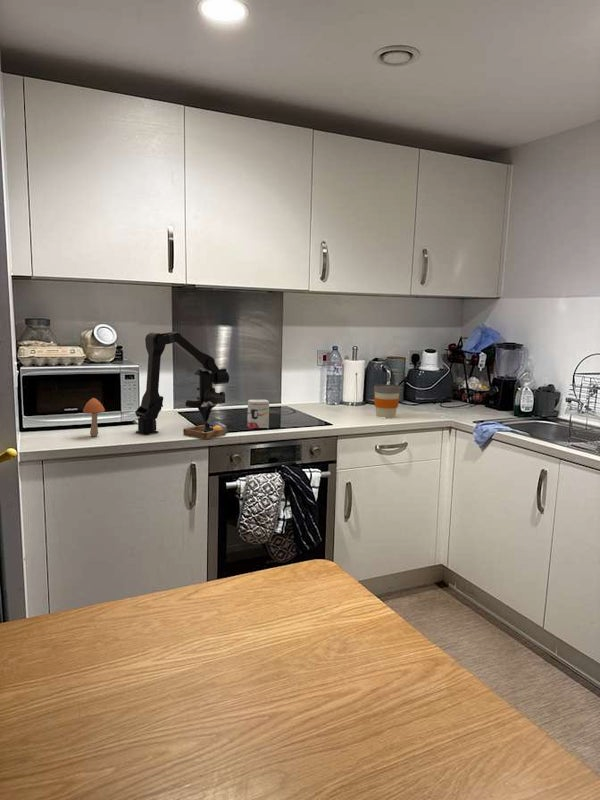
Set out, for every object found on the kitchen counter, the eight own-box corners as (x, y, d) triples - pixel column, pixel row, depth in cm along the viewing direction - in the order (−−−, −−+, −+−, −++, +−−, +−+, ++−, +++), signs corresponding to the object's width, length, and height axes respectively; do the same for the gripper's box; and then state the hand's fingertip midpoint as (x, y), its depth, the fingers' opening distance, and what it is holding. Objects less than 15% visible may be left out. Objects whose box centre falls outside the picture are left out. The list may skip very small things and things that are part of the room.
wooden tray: (205, 439, 219) (205, 433, 219) (183, 435, 226) (183, 428, 226) (225, 435, 228) (225, 428, 228) (203, 430, 235) (203, 424, 234)
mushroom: (98, 433, 226) (97, 395, 223) (109, 436, 221) (108, 397, 218) (79, 436, 219) (78, 397, 217) (90, 439, 214) (89, 400, 212)
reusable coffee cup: (367, 415, 280) (369, 384, 278) (389, 413, 286) (390, 384, 283) (381, 419, 269) (383, 388, 267) (403, 418, 274) (405, 387, 272)
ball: (224, 425, 229) (222, 434, 228) (220, 426, 232) (219, 435, 231) (216, 423, 227) (214, 432, 226) (212, 424, 230) (211, 433, 229)
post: (214, 428, 239) (214, 422, 239) (207, 427, 242) (207, 421, 241) (221, 427, 243) (221, 421, 242) (214, 425, 245) (214, 420, 245)
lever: (221, 433, 229) (221, 425, 229) (206, 423, 248) (206, 416, 248) (227, 432, 231) (227, 425, 230) (212, 422, 249) (212, 415, 249)
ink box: (249, 429, 240) (249, 401, 238) (247, 426, 245) (247, 399, 243) (269, 428, 243) (269, 401, 241) (266, 426, 247) (267, 399, 245)
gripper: (203, 389, 231) (203, 427, 234) (234, 385, 246) (234, 420, 249) (184, 386, 238) (184, 423, 240) (215, 382, 253) (215, 417, 255)
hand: (205, 421), depth 246 cm, fingers closed
